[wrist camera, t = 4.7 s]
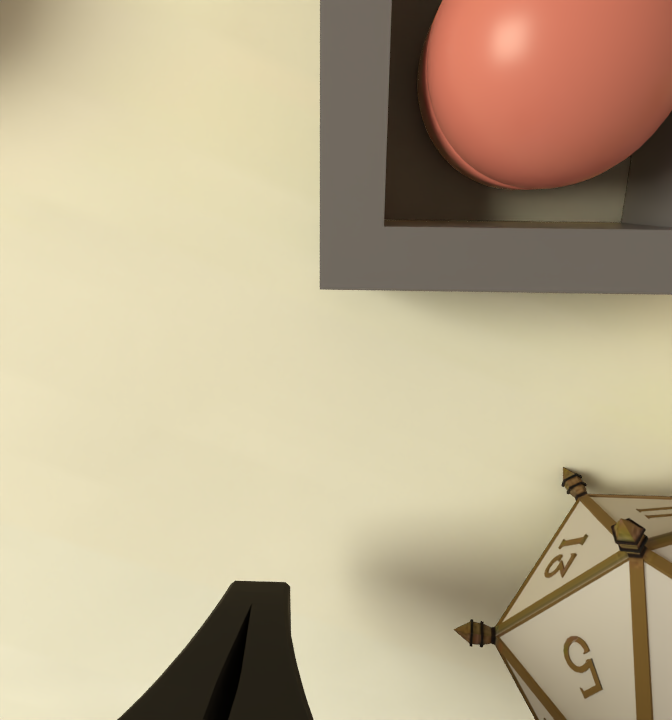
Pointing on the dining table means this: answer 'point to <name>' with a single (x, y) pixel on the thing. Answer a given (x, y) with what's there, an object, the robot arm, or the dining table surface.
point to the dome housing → (461, 238)
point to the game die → (594, 613)
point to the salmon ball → (544, 86)
